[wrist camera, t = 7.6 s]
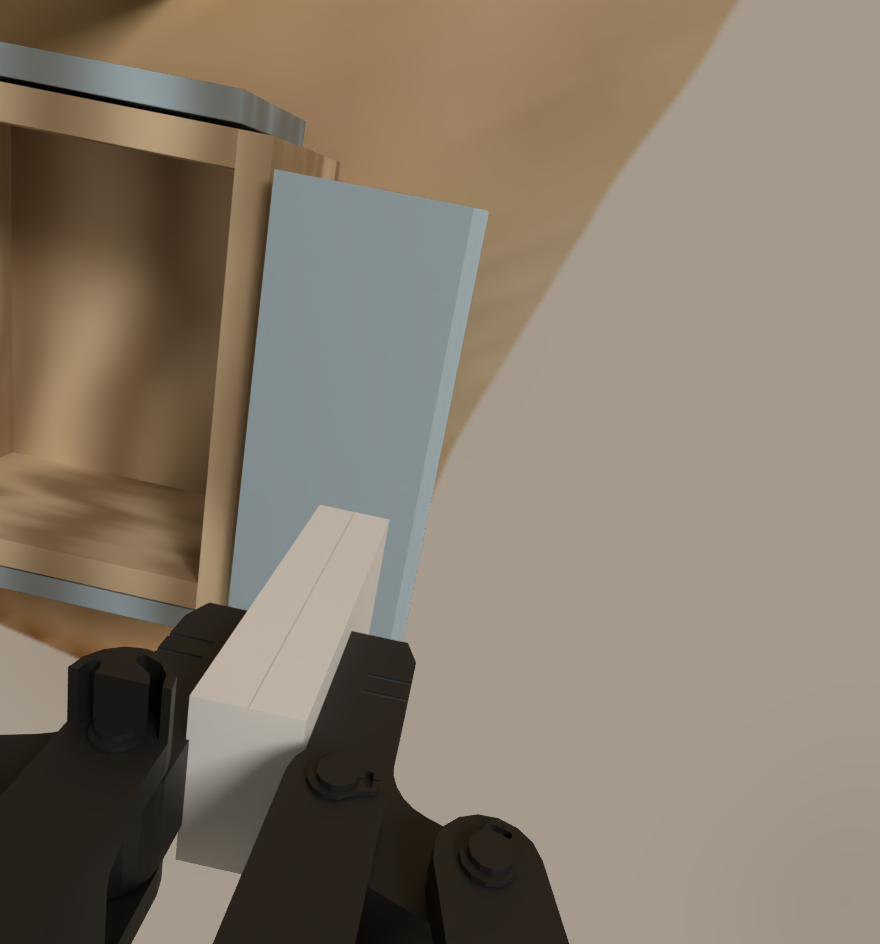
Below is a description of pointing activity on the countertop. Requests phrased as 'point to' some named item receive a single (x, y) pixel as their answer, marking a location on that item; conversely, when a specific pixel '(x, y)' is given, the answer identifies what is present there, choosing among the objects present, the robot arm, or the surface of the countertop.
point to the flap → (352, 373)
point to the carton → (129, 325)
